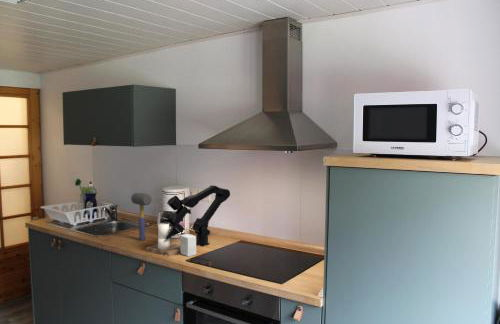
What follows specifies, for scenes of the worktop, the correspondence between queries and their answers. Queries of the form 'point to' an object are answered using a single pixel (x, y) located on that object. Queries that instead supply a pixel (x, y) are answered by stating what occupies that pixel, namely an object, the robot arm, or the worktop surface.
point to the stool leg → (163, 236)
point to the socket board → (173, 250)
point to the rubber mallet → (141, 210)
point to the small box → (188, 245)
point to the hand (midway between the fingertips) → (162, 237)
